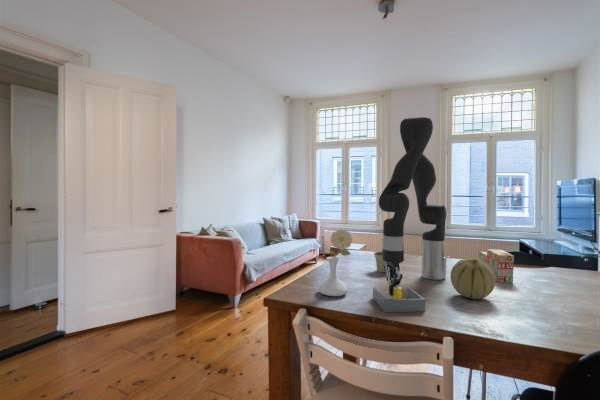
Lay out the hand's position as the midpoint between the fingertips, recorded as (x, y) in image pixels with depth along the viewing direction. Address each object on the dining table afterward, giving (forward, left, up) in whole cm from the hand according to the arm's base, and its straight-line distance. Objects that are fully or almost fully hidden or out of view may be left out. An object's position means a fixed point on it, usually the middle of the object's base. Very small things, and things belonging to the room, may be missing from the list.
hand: (392, 295), depth 112 cm
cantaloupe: (-30, 0, -2) cm, 30 cm away
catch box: (0, +5, -2) cm, 5 cm away
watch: (0, +5, -2) cm, 5 cm away
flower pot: (-9, -37, -2) cm, 39 cm away
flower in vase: (+20, -6, -2) cm, 21 cm away
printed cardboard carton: (-58, -27, -2) cm, 64 cm away
